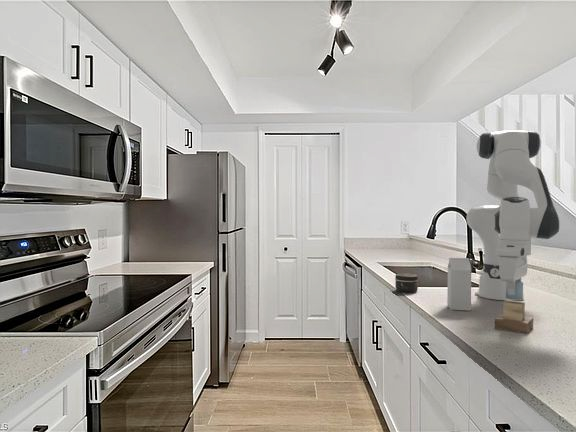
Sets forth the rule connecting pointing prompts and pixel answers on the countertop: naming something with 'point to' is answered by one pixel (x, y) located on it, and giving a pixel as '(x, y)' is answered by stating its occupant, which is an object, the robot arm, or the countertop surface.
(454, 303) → the milk carton
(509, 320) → the walnut pedestal
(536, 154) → the robot arm
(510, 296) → the ceramic cylinder
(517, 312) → the oak cube
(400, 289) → the jar
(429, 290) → the countertop surface
